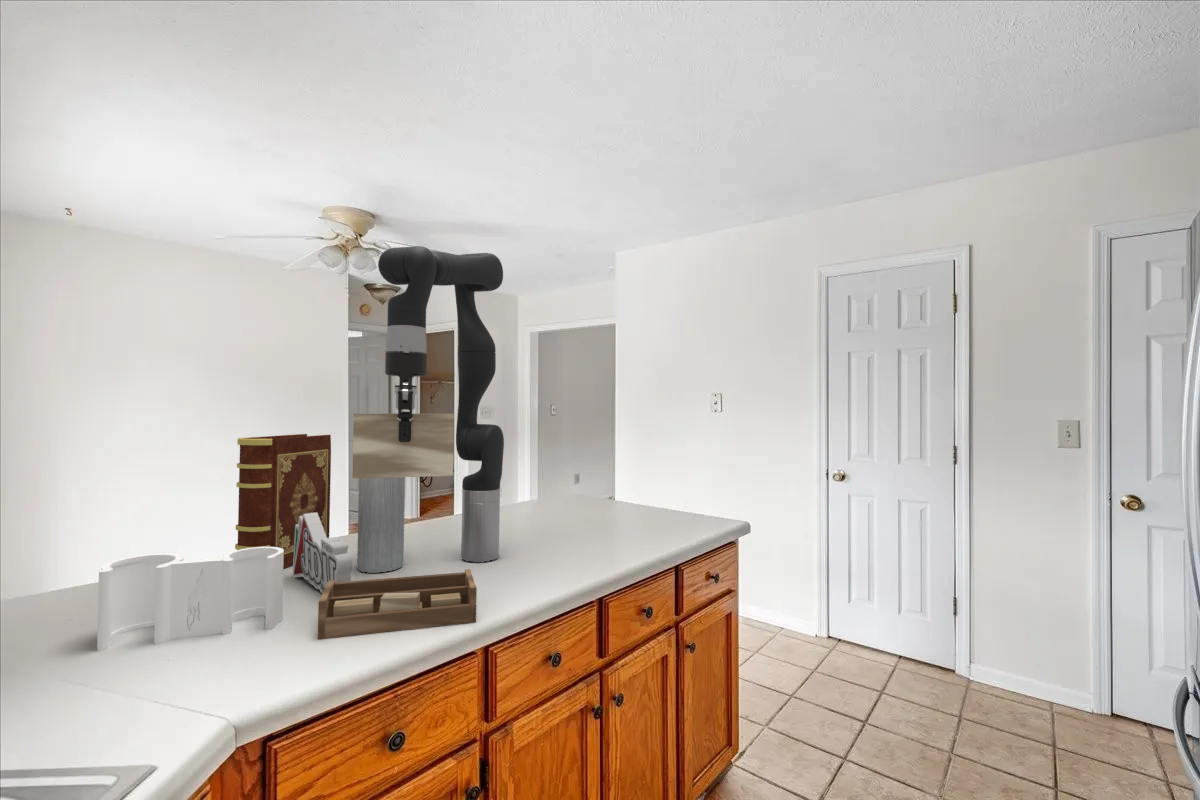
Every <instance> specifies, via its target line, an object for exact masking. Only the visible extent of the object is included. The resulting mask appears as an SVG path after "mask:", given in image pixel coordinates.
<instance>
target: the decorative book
mask: <svg viewBox="0 0 1200 800" xmlns="http://www.w3.org/2000/svg"><path fill="white" fill-rule="evenodd" d="M331 437H332V436H331V434H320V435H319V434H318V435H308V434H307V433H301V434H300V433H299V434H298V433H297V434H284V435H270V436H269V435H268V436H253V437H252V436H251V437H238V438H237V445H239V462H238V463H237V462H236V468H237V469H238V470H239V473H238V476H239V477H238V482H236V487H237V488H238V508H237V509H238V512H237V517H238V518H237V524H236V525H235V530H236V531H237V543H235V544H234V549H235V550H241V549H246V548H254V547H278V548H282V549H283V550H284V560H283V570H284V569H286V568H289V567H291V566H292V567H293V558H294V538H295V525H296V524H298V521H299V516H303V514H308V513H316V512H317V513H318V516H319V518H320V521H321V524H322V526H323V529H324V531H325V534H326V536H327V538H330V525H331V524H330V521H331V520H330V517H331V515H330V514H331V474H332V473H331V472H332V471H331V470H332V469H331V466H332V465H331V464H332V438H331Z"/></svg>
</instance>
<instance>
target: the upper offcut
mask: <svg viewBox="0 0 1200 800" xmlns="http://www.w3.org/2000/svg"><path fill="white" fill-rule="evenodd" d="M419 604H420V592H419V593H384V595H383V596H382V597H381V601H380V610H405V609H417V608H418V606H419Z"/></svg>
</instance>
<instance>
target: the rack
mask: <svg viewBox="0 0 1200 800" xmlns="http://www.w3.org/2000/svg"><path fill="white" fill-rule="evenodd" d="M419 592H420V602H422V608H419V609H409V610H399V611H389V612H379V607H380V601H381V597H382V596H383V595H384V593H419ZM477 592H478V591H477V585H476V583H475V579H474V576H473V574H472V570H471V569H470V568H468V569H464V571H463V572H452V573H451V572H450V573H438V574H423V575H413V576H410V575H409V576H401V577H400V576H399V577H386V578H385V577H384V578H374V579H373V578H372V579H361V580H351V581H347V582H335V580H329V581H328V583H327V585H326V587H325V589H324V591H323V593H321V596H320V598H319V600H318V610H317V611H318V617H317V619H318V620H317V640H321V639H322V640H323V639H332V638H341V637H342V638H343V637H351V636H358V635H359V636H361V635H370V634H376V633H378V634H379V633H388V632H397V631H398V632H399V631H405V630H416V629H424V628H425V629H427V628H434V627H442V626H445V627H446V626H451V625H461V624H462V625H463V624H472V623H477ZM452 593H460V597H461V605H450V606H440V607H431V595H441V594H452ZM364 598H374V604H373V613H368V614H358V615H347V616H337V617H333V607H334V604H335V601H343V600H353V599H364Z"/></svg>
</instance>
